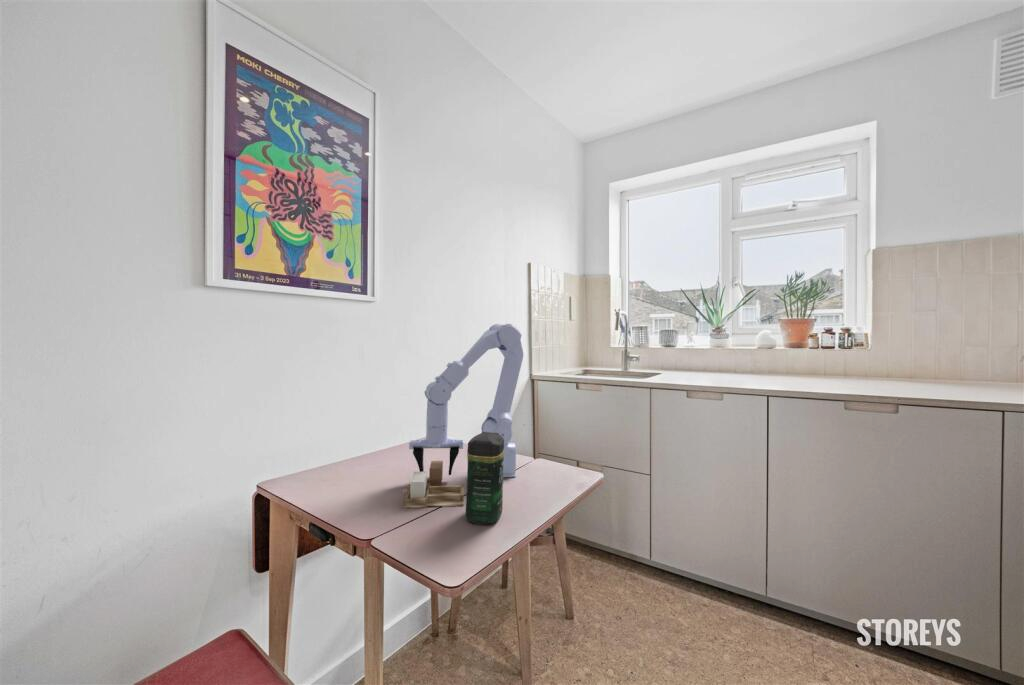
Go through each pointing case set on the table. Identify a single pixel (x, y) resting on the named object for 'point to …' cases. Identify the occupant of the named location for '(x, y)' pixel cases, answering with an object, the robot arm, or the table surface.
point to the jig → (437, 496)
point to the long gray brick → (418, 485)
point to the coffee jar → (485, 478)
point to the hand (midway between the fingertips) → (435, 474)
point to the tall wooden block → (436, 473)
